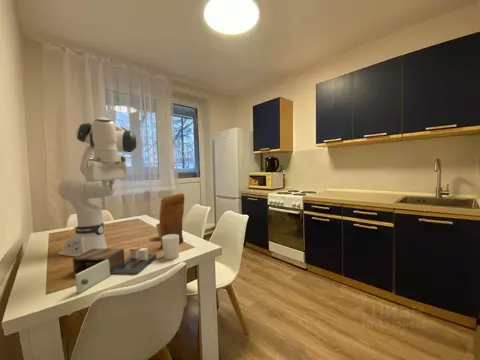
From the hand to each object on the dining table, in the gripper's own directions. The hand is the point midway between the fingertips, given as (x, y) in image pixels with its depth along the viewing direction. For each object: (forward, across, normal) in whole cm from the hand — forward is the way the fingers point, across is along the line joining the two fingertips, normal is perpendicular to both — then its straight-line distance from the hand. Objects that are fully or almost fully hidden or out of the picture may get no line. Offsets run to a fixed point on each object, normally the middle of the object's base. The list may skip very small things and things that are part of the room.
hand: (108, 190), depth 96 cm
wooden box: (+34, -2, +5) cm, 34 cm away
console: (+34, +3, -8) cm, 35 cm away
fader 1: (+32, +6, -6) cm, 33 cm away
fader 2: (+32, +5, -11) cm, 34 cm away
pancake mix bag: (+34, +30, -14) cm, 48 cm away
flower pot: (+35, +42, -2) cm, 54 cm away
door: (+33, -14, -3) cm, 36 cm away
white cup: (+34, +13, -20) cm, 42 cm away
